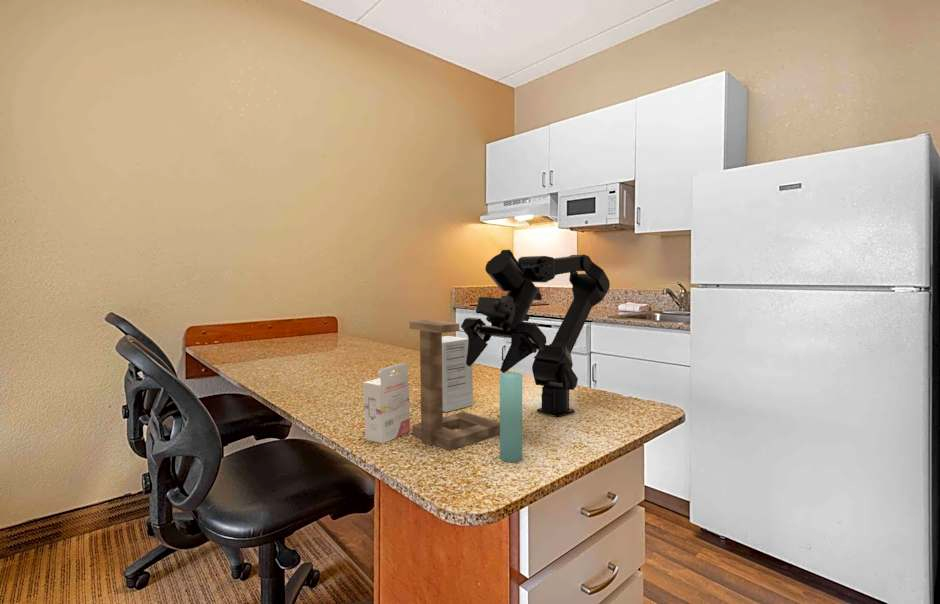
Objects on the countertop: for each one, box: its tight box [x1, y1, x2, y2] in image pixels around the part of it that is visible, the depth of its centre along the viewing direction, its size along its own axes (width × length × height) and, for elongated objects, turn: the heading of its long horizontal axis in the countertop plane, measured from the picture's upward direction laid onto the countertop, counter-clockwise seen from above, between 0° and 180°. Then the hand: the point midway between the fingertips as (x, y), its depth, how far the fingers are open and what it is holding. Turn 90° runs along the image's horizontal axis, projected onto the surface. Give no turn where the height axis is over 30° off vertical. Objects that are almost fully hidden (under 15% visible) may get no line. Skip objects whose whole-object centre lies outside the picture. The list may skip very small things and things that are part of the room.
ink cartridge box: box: [362, 362, 411, 444], centre depth 97 cm, size 9×5×15 cm, turn 148°
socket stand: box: [408, 319, 500, 452], centre depth 97 cm, size 15×12×23 cm
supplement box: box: [442, 335, 474, 413], centre depth 119 cm, size 10×9×17 cm
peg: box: [499, 371, 523, 463], centre depth 85 cm, size 4×4×15 cm
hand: (484, 368), depth 94 cm, fingers open, 9 cm apart
